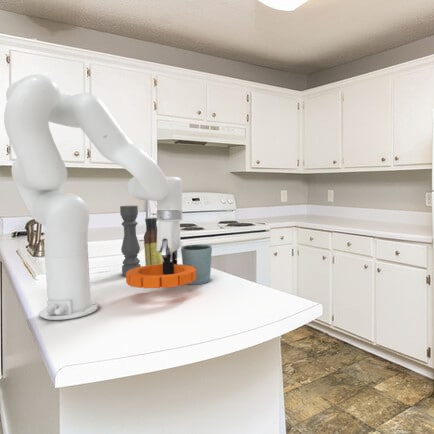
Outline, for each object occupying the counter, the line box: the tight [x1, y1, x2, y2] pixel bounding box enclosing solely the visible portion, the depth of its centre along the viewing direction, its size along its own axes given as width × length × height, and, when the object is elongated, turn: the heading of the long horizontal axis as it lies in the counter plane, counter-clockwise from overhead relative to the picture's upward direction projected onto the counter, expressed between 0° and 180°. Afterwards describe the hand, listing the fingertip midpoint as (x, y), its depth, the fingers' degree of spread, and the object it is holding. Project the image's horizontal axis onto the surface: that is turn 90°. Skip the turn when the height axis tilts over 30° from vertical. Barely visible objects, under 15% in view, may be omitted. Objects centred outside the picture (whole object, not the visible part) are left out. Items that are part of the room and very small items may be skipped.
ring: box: [125, 263, 196, 289], centre depth 122 cm, size 19×19×3 cm
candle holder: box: [119, 205, 142, 277], centre depth 147 cm, size 6×6×25 cm
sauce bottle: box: [143, 216, 163, 266], centre depth 156 cm, size 7×6×20 cm
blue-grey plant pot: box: [180, 243, 213, 285], centre depth 139 cm, size 10×10×12 cm
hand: (170, 272), depth 130 cm, fingers closed on ring, 3 cm apart
